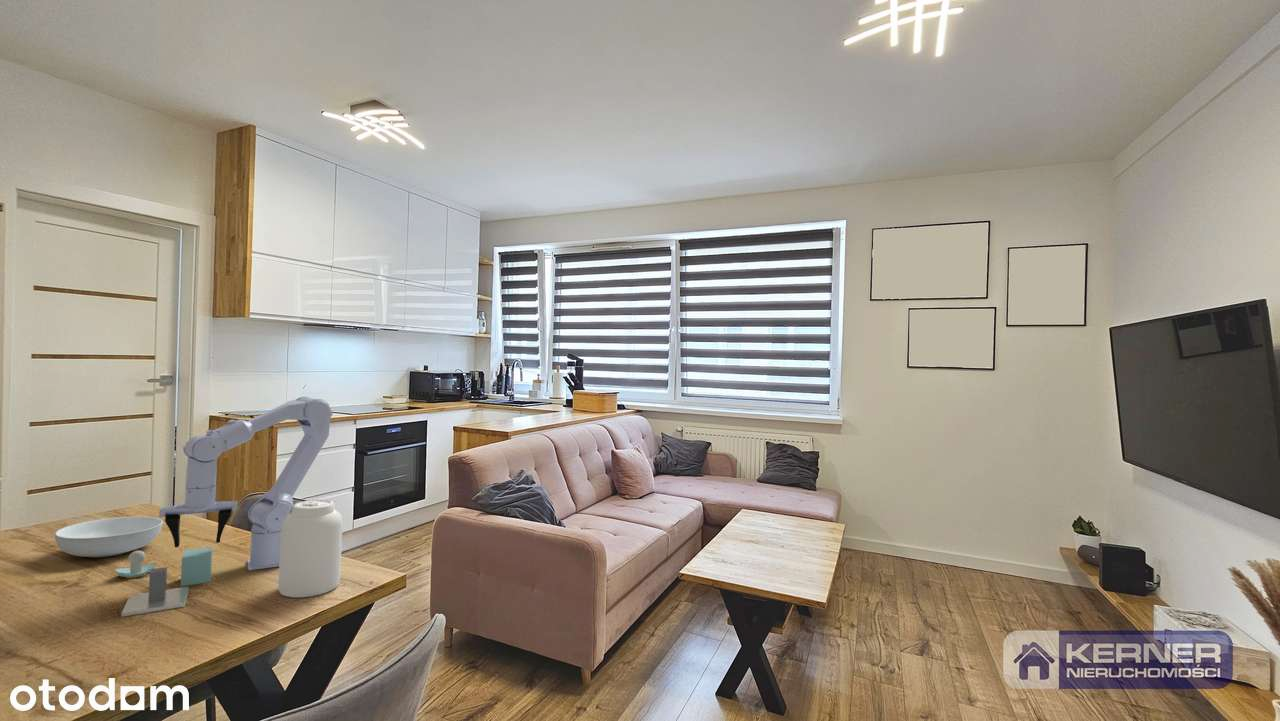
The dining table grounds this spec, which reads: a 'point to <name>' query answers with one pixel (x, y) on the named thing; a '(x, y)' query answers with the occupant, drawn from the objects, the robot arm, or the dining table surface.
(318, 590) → the white jar
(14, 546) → the dining table surface
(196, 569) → the teal block
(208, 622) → the dining table surface
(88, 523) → the serving bowl
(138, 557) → the pacifier
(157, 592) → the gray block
